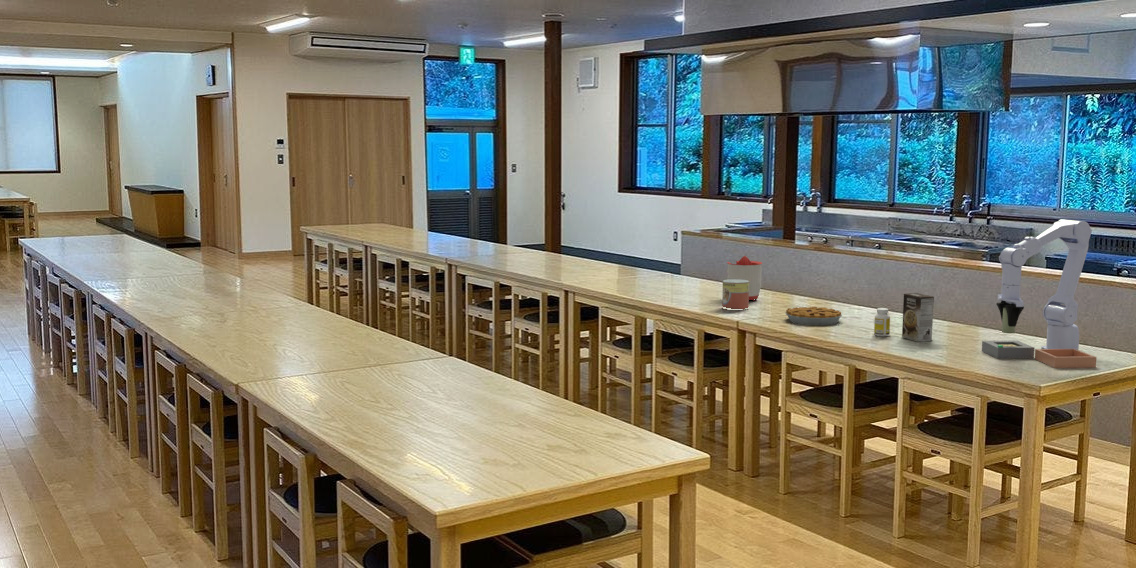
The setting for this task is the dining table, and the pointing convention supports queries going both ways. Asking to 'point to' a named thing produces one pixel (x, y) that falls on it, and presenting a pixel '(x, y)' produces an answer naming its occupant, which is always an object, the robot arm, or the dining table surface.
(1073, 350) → the tray
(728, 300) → the canned food
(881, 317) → the supplement bottle
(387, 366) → the dining table surface
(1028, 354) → the frame
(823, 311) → the pie
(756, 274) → the citrus juicer
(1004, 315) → the olive cell
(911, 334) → the coffee box
